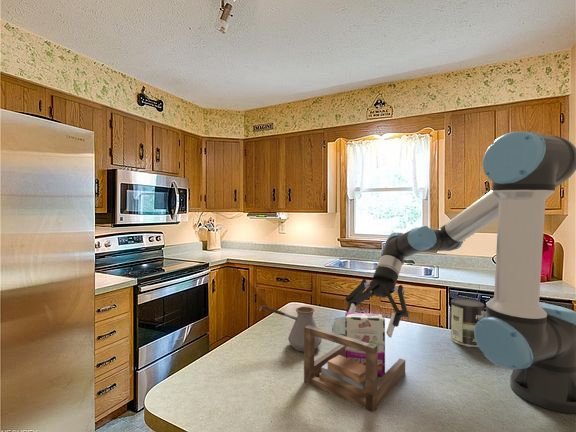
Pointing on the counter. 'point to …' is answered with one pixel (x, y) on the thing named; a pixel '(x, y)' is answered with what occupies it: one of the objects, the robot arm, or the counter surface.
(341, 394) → the offcut rack
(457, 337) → the coffee can
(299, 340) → the coffee pot
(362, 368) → the offcut stack
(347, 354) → the candy bar box
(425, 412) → the counter surface
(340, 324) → the stone slab
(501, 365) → the robot arm
